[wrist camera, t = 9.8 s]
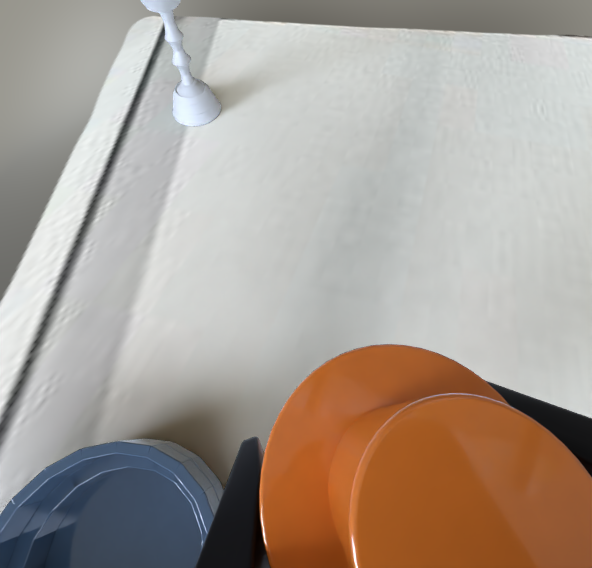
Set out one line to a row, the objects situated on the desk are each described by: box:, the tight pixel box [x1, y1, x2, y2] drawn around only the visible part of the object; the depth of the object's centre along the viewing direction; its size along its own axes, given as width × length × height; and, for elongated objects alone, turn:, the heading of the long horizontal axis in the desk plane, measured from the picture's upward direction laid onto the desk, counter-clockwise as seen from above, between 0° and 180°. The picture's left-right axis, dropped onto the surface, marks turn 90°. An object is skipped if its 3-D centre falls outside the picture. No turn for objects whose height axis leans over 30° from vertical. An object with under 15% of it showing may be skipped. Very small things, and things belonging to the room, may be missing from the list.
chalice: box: [141, 0, 221, 126], centre depth 25 cm, size 7×7×18 cm
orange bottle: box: [259, 344, 592, 568], centre depth 9 cm, size 5×5×12 cm
